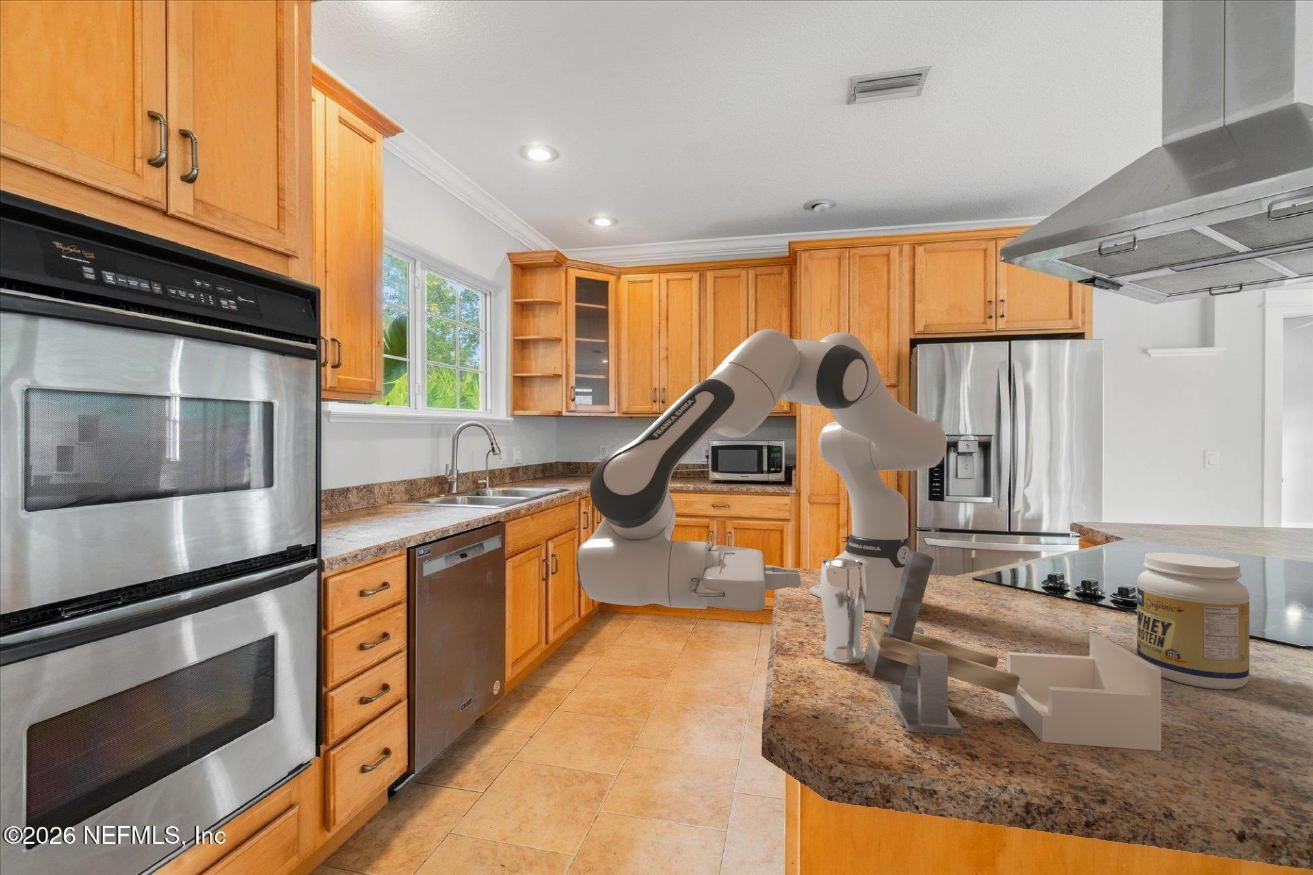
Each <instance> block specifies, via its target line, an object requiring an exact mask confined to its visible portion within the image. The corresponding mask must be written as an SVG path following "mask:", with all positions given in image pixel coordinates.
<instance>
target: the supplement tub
mask: <svg viewBox="0 0 1313 875" xmlns="http://www.w3.org/2000/svg"><path fill="white" fill-rule="evenodd" d="M1143 566H1144V567H1145V568H1146V570H1145V571H1142V572H1141V573H1140V574H1139V575H1138V577H1137V580H1136V585H1137V587H1136V600H1137V602H1136V604H1137V605H1136V616H1137V617H1136V618H1137V619H1136V626H1137V627H1136V651H1137V652H1136V656H1138V657H1140V658H1142V659H1143V660H1145V661H1147V662H1149V663H1150V664H1152V665H1154V666H1156V667H1157V668H1159V669H1161V678H1164V679H1166V680H1170V681H1173V682H1176V683H1180V684H1184V685H1189V686H1193V687H1198V688H1206V689H1213V690H1234V689H1240V688H1241V687H1244V686H1245V685H1246V684H1247V683H1248V681H1249V679H1250V600H1251V599H1250V592H1249V591H1248V588H1247V587H1246V586H1245V585H1244V584H1243V583H1241V582H1240V581H1238V580H1239V578H1241V577H1242V573H1241V564H1240V563H1238V562H1236V561H1233V560H1230V559H1225V558H1220V557H1216V556H1210V555H1209V556H1208V555H1201V554H1200V555H1199V554H1195V553H1194V554H1193V553H1184V552H1160V551H1159V552H1149V553H1146V554H1145V555H1144V562H1143Z"/></svg>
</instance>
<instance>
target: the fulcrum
mask: <svg viewBox="0 0 1313 875" xmlns="http://www.w3.org/2000/svg"><path fill="white" fill-rule="evenodd" d="M914 632H917V633H920V634H924V632H925V630H924V628H923V627H922V626H915V629H914ZM924 635H925V634H924ZM948 678H949V677H948V657H947V655H946V654H945V653H936V652H918V667H916V666H912V665H909V664H908V666H907V670H906V673H905V677H904V681H903V684H902V686H899V685H896V684H891V683H889V684H888V683H886V684H885V686H886V687H885V688H886V690H885V691H886V693H887V694H888V696H889V698H890V699H891V702H892V704H893V706H894V707H895V710H896V711H897V713H898V715H899V717H900V718H901V720H902V722H903V724H904V726H905V729H906V730H907V732H910V733H911V732H912V733H921V734H938V735H949V736H950V735H951V736H963V731H964V730H963V728H962V725H961V724H960V723H959V722H958V720H957V719H956V717H955V715H953V713H952V712H951V711H950V709H949V708H948V707H949V701H948V700H949V696H948V695H949V690H948V689H949V688H948V687H949V686H948V685H949V684H948V682H949V680H948Z"/></svg>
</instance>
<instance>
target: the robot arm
mask: <svg viewBox="0 0 1313 875" xmlns="http://www.w3.org/2000/svg"><path fill="white" fill-rule="evenodd" d="M781 400H783V401H787V402H790V403H793V404H798V405H799V404H801V405H808V406H813V407H814V406H815V407H816V406H817V407H824V408H826V409H829V411H830V413H831V414H832V416H833V419H834V420H835V421H832V422H831V421H830V422H828V423H827V424H825V426H824V427H823V428H822V429H821V431H820V432H819V436H818V442H817V443H818V444H817V445H818V451H819V454H820V457H821V458H822V460H823V461H824V462H825V463H826V464H827V465H828V466H830V467H831V468H832V469H833V471H835V472H836V473H837V474H838V475H839V477H840V479H841V480H842V482H843V484H844V486H845V488H846V491H847V494H848V497H849V503H850V513H851V514H850V515H851V517H850V518H851V534H849V535H847V536H842V537H841V539H843V540H841V543H846V545H845V547H844V551H842V552H841V553H840V554H839V555H837V556H835V558H842V559H852V560H858V561H861V562H863V563H864V564H865V576H866V604H865V611H868V612H878V613H879V612H880V613H892V610H893V607H894V603H895V599H896V596H897V592H898V589H899V585H900V581H901V578H902V574H903V570H904V567H905V563H906V560H907V556H908V552H909V550H911V548H912V547H911V538H910V536H909V505H908V501H907V499H906V498H905V497H904V495H902V493H901V492H899V491H898V490H897V489H894V488H893V487H891V486H889V485H887V484H886V483H885V482H884V481H883V479H882V478H881V473H880V471H900V472H901V471H902V472H903V471H906V472H911V471H918V470H925V469H931V468H936V466H937V465H939V463H941V461H942V460H943V458H944V456H945V454H946V452H947V446H948V444H947V443H948V442H947V437H946V434H945V431H944V429H943V427H941V425H940V424H939V423H938V422H937V421H936V420H934V419H931V418H928V417H924V416H921V415H919V414H918V413H915V412H913V411H911V410H910V409H908V408H907V407H905V406H904V405H902V404H901V403H900V402H899V401H897V400H896V399H895V398H894V397H893V396H892V395H891V393H890V391H889V390H888V388H887V385H886V384H885V382H884V380H883V378H882V375H881V373H880V371H879V369H878V367H877V364H876V362H875V361H874V358H873V357H872V355H871V354H870V352H869V351H868V350H867V348H866V346H864V344H863V343H862V341H861V340H860V339H859V338H858V337H857V336H856V335H854V334H851V333H848V332H844V331H842V332H839V331H838V332H835V333H830V334H828V335H826V336H824V337H822V338H821V339H820V340H815V339H798V338H797V339H796V338H795V339H794V338H793V339H792V338H791V337H790V336H788V335H787V334H785V333H783V332H782V331H780V330H776V329H774V328H773V329H771V328H764V329H761V330H758V331H756V332H754V333H753V334H752V335H750V336H749V337H747V338H746V339H744V341H743V342H741V343H740V344H739V345H738V346H737V347H735V349H733V350H732V351H731V352H730V353H729V354H728V355H727V356H726V357H725V358H724V359H723V360H722V362H721V363H720V364H719V365H718V366H717V367H716V368H714V370H713V372H712V373H711V374H710V375H708V377H707V378H705V380H702V381H700V382H699V383H697V384H695V385H694V386H693V387H691V388H690V389H689V390H687V391H686V393H684V394H683V395H682V396H681V397H680V398H679V399H678V400H676V401H675V402H674V403H673V404H672V405H671V406H670V407H669V408H668V409H667V410H666V411H665V412H664V413H663V414H662V415H661V416H659V417H658V419H656V420H655V421H654V422H653V423H652V424H651V425H650V426H649V427H648V428H647V429H646V430H645V431H644V432H642V434H640V435H639V436H638V437H637V438H635V439H634V440H632V441H631V442H629V443H627V444H625V445H623V446H622V447H619V448H617V449H616V450H614V451H612V452H611V453H609V454H607V455H606V456H605V457H604V458H603V459H602V460H600V462H599V463H598V464H597V466H596V467H595V469H594V471H593V472H592V475H591V478H590V483H589V495H590V498H591V501H592V504H593V505H594V507H595V509H596V510H597V512H599V513H600V514H601V515H602V517H603V518H602V520H601V522H600V523H599V525H598V527H597V528H596V529H595V530H594V532H593V533H592V534H591V535H590V536H589V537H588V539H587V540H586V541H585V542H583V543H582V544H580V545H579V548H578V549H577V554H576V572H577V577H578V581H579V585H580V587H581V589H582V590H583V592H584V593H585V595H587V596H588V597H589V599H592V600H594V601H597V602H600V603H605V604H606V603H607V604H612V605H622V606H635V607H636V606H637V607H638V606H640V607H641V606H646V605H650V604H651V605H652V604H657V605H662V606H664V607H667V608H676V609H677V608H679V609H681V608H682V609H699V610H707V608H708V607H712V608H717V609H724V610H725V609H727V610H736V611H737V610H739V611H748V612H749V611H751V612H754V611H761V610H764V609H765V608H766V590H767V591H769V590H770V591H775V590H781V589H786V588H792V589H793V588H795V589H796V588H797V589H798V588H799V587H801V586H802V585H801V582H802V581H801V575H800V571H799V570H798V569H796V568H785V567H780V566H776V565H772V564H769V565H768V564H767V565H766V564H764V563H765V562H764V555H763V552H762V550H758V549H755V548H749V547H740V546H729V545H719V544H718V545H715V544H714V545H713V542H712V541H710V540H698V541H696V540H695V541H694V540H693V541H691V540H672V538H673V535H674V534H673V533H674V529H675V525H676V522H677V512H676V508H675V503H674V500H673V497H672V495H671V492H670V483H671V478H672V475H673V473H674V470H675V469H676V467H677V466H678V465H679V464H681V462H682V461H683V460H684V459H685V458H686V457H687V456H688V455H689V454H690V453H691V452H692V451H693V450H694V449H695V447H696V446H697V445H698V444H699V443H701V441H702V440H703V439H704V438H706V436H707V435H709V434H710V433H712V432H714V433H716V434H718V435H720V436H723V437H726V438H733V439H734V438H735V439H736V438H738V439H739V438H744V437H746V436H748V435H749V434H751V433H752V432H753V431H754V430H756V429H757V428H759V427H760V425H761V424H762V423H763V422H764V421H765V420H766V419H767V417H768V416H769V415H770V414H771V413H772V411H774V409H775V408H776V406H777V405H778V404H779V402H780V401H781ZM911 551H912V550H911ZM809 594H811V595H813V596H816V597H818V598H820V599H821V593H820V584H815V585H813V586H811V587H810V588H809Z"/></svg>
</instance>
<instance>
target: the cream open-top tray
mask: <svg viewBox="0 0 1313 875" xmlns="http://www.w3.org/2000/svg"><path fill="white" fill-rule="evenodd" d="M1006 672H1009V673H1013V674H1016V675H1018V676H1019V677H1020V680H1019V683H1018V687H1017V690H1016V694H1015V697H1014V696H1011V695H1007V694H1004V693H1001V692H998V697H999V698H1000V700H1001V701H1003V702H1004V703H1005V705H1007V707H1008V708H1009V709H1011V711H1012V712H1014V714H1015V715H1016V716H1017V717H1018V718H1019V719H1020V720H1021V721H1022V723H1024V724H1025V725H1026V726H1027V727H1028V728H1029V730H1030V731H1032V732H1033V734H1034V735H1035V736H1036V737H1037V738H1038V739H1039V740H1040V741H1041V742H1042V743H1046V744H1047V743H1049V744H1050V743H1051V744H1065V745H1078V746H1088V747H1089V746H1091V747H1092V746H1093V747H1103V748H1104V747H1105V748H1115V749H1116V748H1118V749H1131V750H1141V751H1142V750H1145V751H1158V752H1161V751H1162V677H1161V669H1159V668H1157V667H1156V666H1154V665H1152V664H1150V663H1149V662H1147V661H1145V660H1143V659H1142V658H1140V657H1138V656H1137V654H1134V653H1132V652H1131V651H1130V650H1128V649H1126V648H1124V647H1122V646H1120V645H1118V644H1117V643H1115V642H1113V641H1111V640H1109V639H1108V638H1106V637H1104V636H1103V635H1101V634H1099V633H1089V655H1069V654H1048V653H1035V652H1034V653H1029V652H1010V651H1009V652H1008V651H1007V652H1006ZM1100 689H1103V690H1100Z"/></svg>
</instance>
